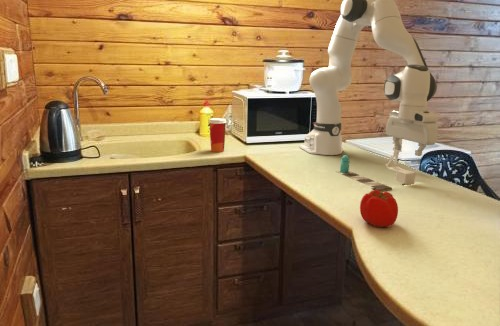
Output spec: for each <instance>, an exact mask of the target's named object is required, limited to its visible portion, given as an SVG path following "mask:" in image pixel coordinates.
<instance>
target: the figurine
mask: <svg viewBox="0 0 500 326" xmlns="http://www.w3.org/2000/svg"><path fill="white" fill-rule="evenodd" d="M392 141H393V140H392ZM399 143H400V145H403V139H400V140H399ZM392 144H393V148H392V150H393V152H392V153H393V154H392V155H391V156H390V158H389V160H388V163H385V166H386V167H385V168H386V169H389V170H391V171H394V172H397V171H400V170H405V169H404V168H402V167H399V166H397V165H398V157H399V155H400V153H401V152H402V149H403V148H402V146H401V150H395V144H394V141H393V142H392ZM392 160H394V167H393V166H390V167H389V165H390V164H391V162H392Z"/></svg>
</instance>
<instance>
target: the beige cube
mask: <svg viewBox="0 0 500 326" xmlns="http://www.w3.org/2000/svg"><path fill="white" fill-rule="evenodd" d="M395 176H396V177H395V181H397V182H400V183H401V184H402V186H404V185H407V186H412V185H411V184H413V185H414V184H415V179H416V172H414V171H411V170H408V169H404V170H400V171H396V175H395Z"/></svg>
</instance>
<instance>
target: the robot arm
mask: <svg viewBox="0 0 500 326" xmlns="http://www.w3.org/2000/svg"><path fill="white" fill-rule="evenodd" d="M339 10H340V11H339V12H340V16H339V18H338V20H337V22H336V25H335V26H334V27H335V28H334V30H333V34H332V35H331V40H330V42H329V44H328V48H327V54H328V56H329V60H328V61H329V62H328V67H320V68H318V69H316V70H314V71H313V72H311V74H310V76H309V79H308V81H309V86H310V88H311V89H312V90H313V92H314V95H315V96H314V97H315V99H316V120H315V122H312V124H313V129H312V130H311V131H310V132H308V133H307V134H306V135H305V138H304V143H302V144H299V146H298V148H300V149H301V150H303V151H304V152H306V153H308V154H312V155H322V156H325V155H326V156H335V155H341V154H343V151H344V148H343V140H342V139H343V136H342V135H343V134H342V133H341V130H342V122H341V121H342V111H343V109H342V108H343V107H342V104H341V102H340V101H339V95H338V92H342V91H344V90H346V89H348V88H349V87H350V86H351V84H352V82H353V77H352V73H351V72H352V71H351V68H352V62H353V61H352V60H353V55H354V53H355V50H356V47H357V44H358V41H359V38H360V35H361V32H362V30H363V28H365V27H368V28H369V29H371V33H372V38H373V40H374V42H375V43H376V45H377V46H378V47H380V48H381V49H383V50H386V51H389V52H392V53H395V54H397V55H399V56H400V57H402V58H404V59H405V61H406V63H407V65H406V66H405V67H404V69H403V70H401V71H399V72H397V73H394V74H391V75H389V76H388V77H387V78H386V80H385V82H384V85H383V94H384V95H385V96H386V98H387V99H388V100H389V101H393V102H399V106H398V107H399V108H398V109H399V110H394V109H393V110H392V111H391V112H390V113H389V114H388V115H389V116H388V119H387V122H386V126H385V134H386V135H387V136H388V137H392V141H394V143H393V145H395V150H402V149H401V146H402V145H403V144H402V145H400V143H399V140H400V139H402V140H406V141H409V142H412V143H418V144H417V146H418V148H417V149H416V150H415V151H414V155H415V156H417V157H422V155H423V151H424V150H425V148H426V147H427V146H433V145H435V144H436V143H437V141H438V137H439V136H438V133H439V125H438V123H437V122H438V121H439V118H440V116H439V115H438V114H437V113H435V112H433V111H431V109H428V102H429V101H430V100H432V98H433V97H434V96H435V95H436V92H437V89H438V85H437V81H436V79H435V77H434V75H433V74H432V73H431V71H430V68H429V67H428V65H427V63H426V60H425V58H424V55H423V53H422V51H421V48H420V46H419V44H418V42H417V40H416V39H415V38H414V37H413V36H412V35H411V34H410V33H409V31H408V30H407V28H406V27H405V25H404V23H403V19H402V15H401V13H400V10H399V8H398V5H397V3H396V2H395V0H342V2H341V5H340V9H339Z"/></svg>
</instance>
